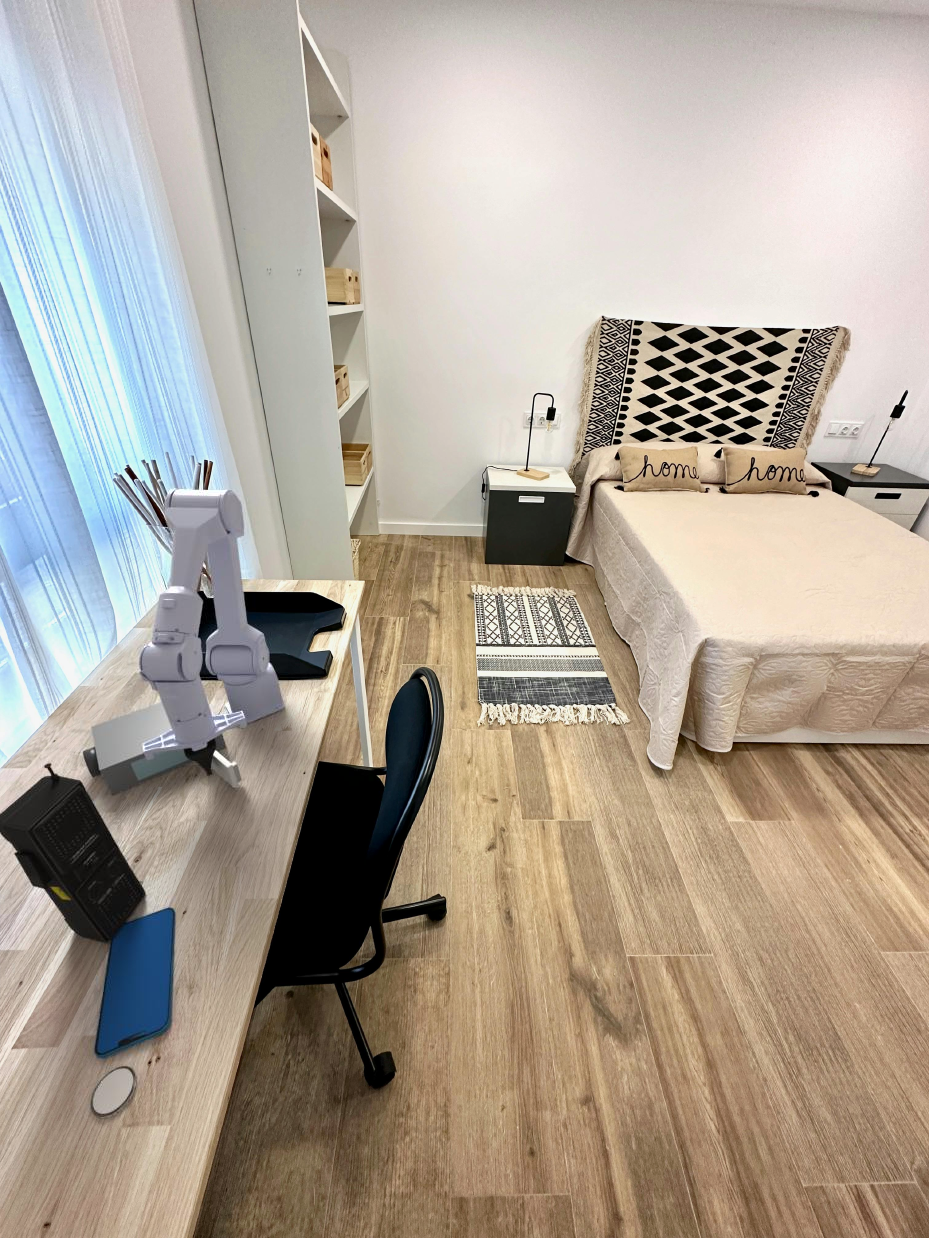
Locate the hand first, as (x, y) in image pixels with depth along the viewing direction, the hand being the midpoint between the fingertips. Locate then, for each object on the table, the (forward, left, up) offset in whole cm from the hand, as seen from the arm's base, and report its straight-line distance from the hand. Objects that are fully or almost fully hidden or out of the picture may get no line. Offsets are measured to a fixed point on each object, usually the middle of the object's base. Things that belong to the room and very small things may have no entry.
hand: (209, 770), depth 85 cm
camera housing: (+5, -13, -3) cm, 14 cm away
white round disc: (+19, +35, -3) cm, 40 cm away
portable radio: (+17, +15, -3) cm, 23 cm away
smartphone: (+15, +25, -3) cm, 29 cm away
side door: (-2, -1, -2) cm, 3 cm away
